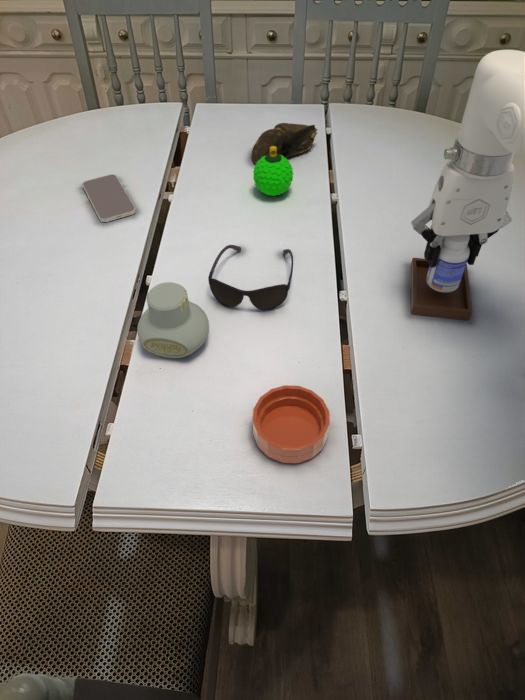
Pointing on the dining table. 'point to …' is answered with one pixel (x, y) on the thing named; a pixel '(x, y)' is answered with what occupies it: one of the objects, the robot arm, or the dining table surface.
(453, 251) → the pill bottle
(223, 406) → the dining table surface
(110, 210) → the smartphone
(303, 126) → the brown curved chunk
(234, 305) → the sunglasses
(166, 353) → the air freshener
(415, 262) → the tray
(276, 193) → the ornament
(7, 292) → the dining table surface
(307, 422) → the bowl
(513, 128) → the robot arm
